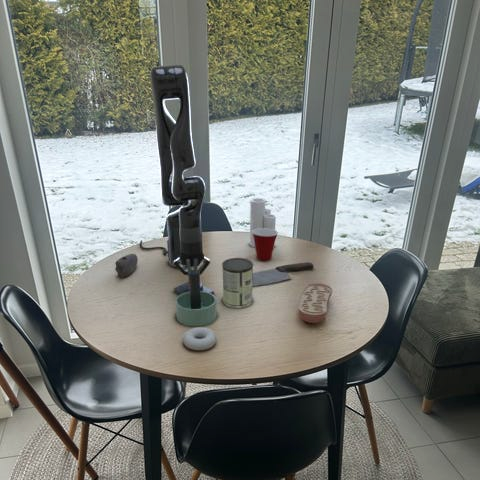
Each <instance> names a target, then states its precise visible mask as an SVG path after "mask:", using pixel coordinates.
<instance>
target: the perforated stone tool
mask: <svg viewBox="0 0 480 480" xmlns="http://www.w3.org/2000/svg"><path fill="white" fill-rule="evenodd" d="M138 261H139V260H138V256H137V254H135V253H129V254H126V255H124V256H122V257H120V258H118V259H117V260H116V261H115V272H116V274H117V276H118V277H120V278H127V277H128V276H129V275H130V274H131V273H132V272H133V271H134V270H135V269H136V267H137V265H138Z"/></svg>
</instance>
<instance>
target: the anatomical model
mask: <svg viewBox="0 0 480 480" xmlns="http://www.w3.org/2000/svg"><path fill="white" fill-rule="evenodd" d="M301 291H302V292H301V293H300V295H299V298H298V307H297V308H298V314H299V316H300V318H301V319H302V320H303V321H305V322H307V323H309V324H316V323H320V322H321V321H322V320H324V319H325V318H326V315H327V313H328V301H329V300H330V298H331V297H332V294H333V288H332V287H331V286H330V285H328V284H326V283H321V282H320V283H317V282H316V283H315V282H314V283H309V284H307V285H306V286H305V287H304V288H303V290H301Z"/></svg>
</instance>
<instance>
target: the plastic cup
mask: <svg viewBox="0 0 480 480" xmlns="http://www.w3.org/2000/svg"><path fill="white" fill-rule="evenodd" d="M252 233H253V236H254V242H255V247H254V248H255V253H256V259H257V260H258V261H260V262H268V261H269V262H270V261H271V259H272V255H273V252H274V248H275V243H276V239H277V236H278V235H279V231H278V230H276V229H275V230H273V229H267V228H259V229H254V230H252Z"/></svg>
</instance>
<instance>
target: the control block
mask: <svg viewBox="0 0 480 480" xmlns="http://www.w3.org/2000/svg"><path fill="white" fill-rule="evenodd" d="M188 285H189V281H187V282H185V283H183V284H180V285H177V286H175V287H173V292H174V293H175V294H177V295H178V296H179V295H181V294H183V293H186V292H190V288H189V286H188ZM200 291H204V292H208V293H211V294H213V295H214V296H215V291H214V290H213V289H211V288H209V287H206V286H204V284H203V282H201V281H200Z"/></svg>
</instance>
